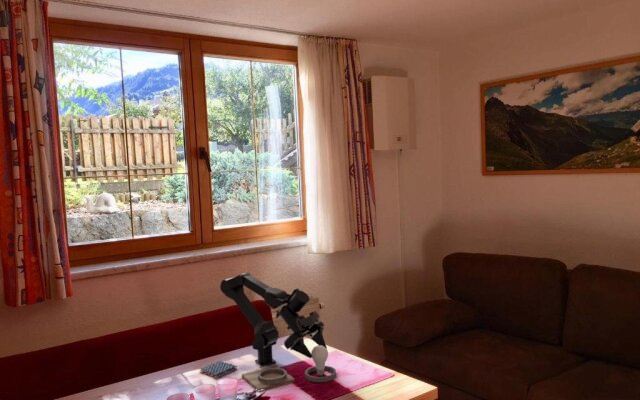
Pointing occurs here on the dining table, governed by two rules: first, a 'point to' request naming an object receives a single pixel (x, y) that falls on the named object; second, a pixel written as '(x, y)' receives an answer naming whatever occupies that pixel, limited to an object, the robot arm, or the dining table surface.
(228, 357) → the dining table surface
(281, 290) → the robot arm
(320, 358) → the lightbulb
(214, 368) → the woven mat
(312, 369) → the collar
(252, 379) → the socket board
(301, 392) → the dining table surface
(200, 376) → the dining table surface
